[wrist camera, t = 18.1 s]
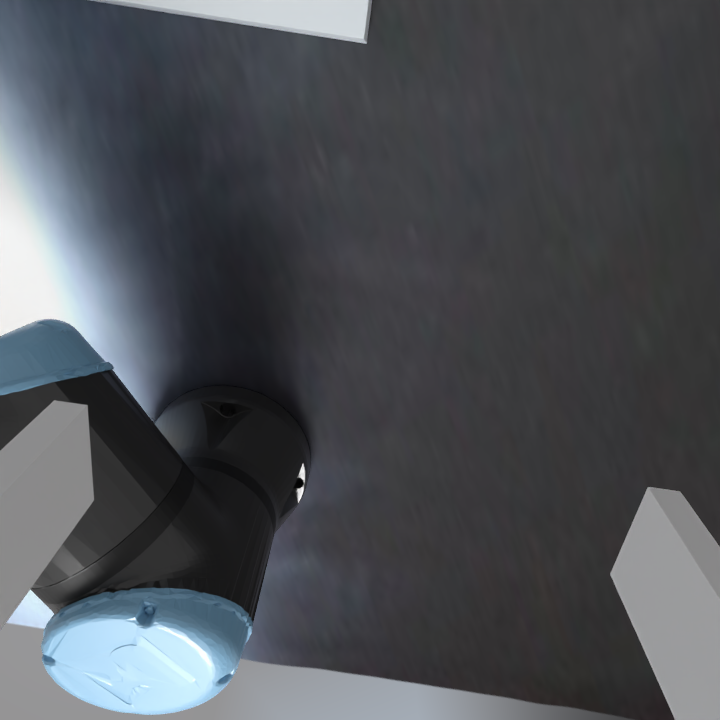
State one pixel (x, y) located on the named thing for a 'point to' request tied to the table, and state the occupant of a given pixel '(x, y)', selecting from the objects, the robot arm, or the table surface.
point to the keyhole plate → (275, 14)
